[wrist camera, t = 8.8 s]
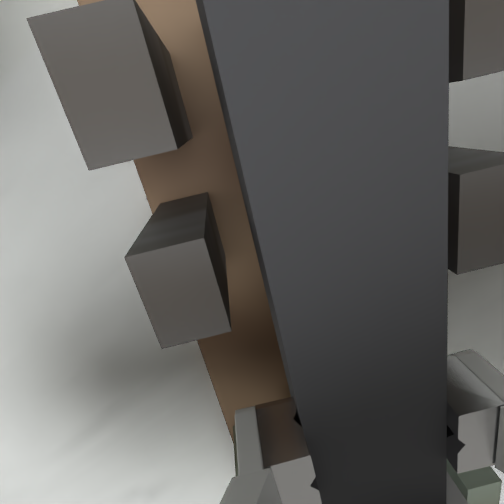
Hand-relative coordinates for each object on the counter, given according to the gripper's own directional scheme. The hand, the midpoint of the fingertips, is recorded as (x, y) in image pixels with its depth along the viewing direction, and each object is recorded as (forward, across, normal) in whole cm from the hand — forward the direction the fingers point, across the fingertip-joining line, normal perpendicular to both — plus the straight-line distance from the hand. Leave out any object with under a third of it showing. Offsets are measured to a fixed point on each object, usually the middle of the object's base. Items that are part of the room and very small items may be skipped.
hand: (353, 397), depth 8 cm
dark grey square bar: (+2, 0, -2) cm, 3 cm away
